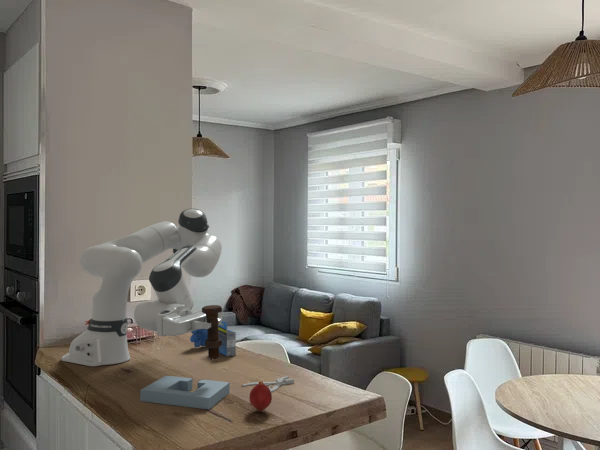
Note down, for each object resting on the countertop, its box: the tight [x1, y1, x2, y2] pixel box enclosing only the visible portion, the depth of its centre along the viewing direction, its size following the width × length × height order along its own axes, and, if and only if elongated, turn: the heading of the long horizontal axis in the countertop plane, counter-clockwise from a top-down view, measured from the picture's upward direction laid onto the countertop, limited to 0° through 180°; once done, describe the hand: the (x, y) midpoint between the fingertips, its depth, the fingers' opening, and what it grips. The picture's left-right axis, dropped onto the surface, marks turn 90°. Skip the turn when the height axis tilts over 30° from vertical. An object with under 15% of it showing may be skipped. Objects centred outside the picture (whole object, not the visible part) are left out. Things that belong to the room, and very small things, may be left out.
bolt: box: [201, 304, 223, 361], centre depth 154 cm, size 6×5×15 cm
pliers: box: [241, 375, 295, 393], centre depth 161 cm, size 10×2×15 cm
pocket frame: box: [139, 375, 231, 410], centre depth 149 cm, size 20×14×3 cm
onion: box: [249, 380, 273, 412], centre depth 140 cm, size 6×6×8 cm
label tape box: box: [218, 320, 237, 357], centre depth 198 cm, size 9×4×12 cm, turn 34°
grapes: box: [189, 329, 208, 348], centre depth 206 cm, size 12×7×12 cm, turn 131°
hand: (214, 324), depth 154 cm, fingers closed on bolt, 3 cm apart
